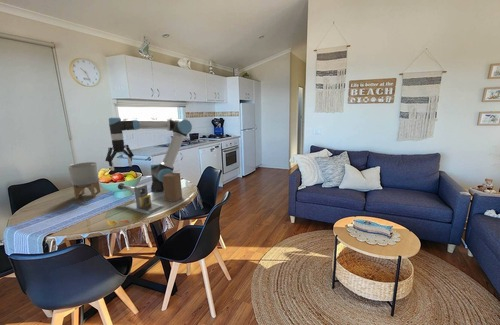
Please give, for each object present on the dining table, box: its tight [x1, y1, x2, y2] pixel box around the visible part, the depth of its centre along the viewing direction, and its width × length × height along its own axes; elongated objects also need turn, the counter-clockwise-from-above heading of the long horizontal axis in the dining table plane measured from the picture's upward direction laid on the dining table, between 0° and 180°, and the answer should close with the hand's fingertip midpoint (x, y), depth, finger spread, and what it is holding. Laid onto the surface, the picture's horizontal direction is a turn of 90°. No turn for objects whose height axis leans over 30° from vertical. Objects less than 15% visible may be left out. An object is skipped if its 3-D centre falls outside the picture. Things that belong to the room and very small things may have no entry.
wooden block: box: [162, 172, 183, 202], centre depth 185 cm, size 10×10×20 cm
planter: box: [67, 161, 101, 200], centre depth 197 cm, size 19×19×26 cm
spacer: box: [139, 193, 152, 208], centre depth 171 cm, size 2×8×8 cm, turn 150°
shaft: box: [117, 182, 143, 193], centre depth 176 cm, size 24×5×5 cm, turn 60°
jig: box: [125, 183, 165, 215], centre depth 171 cm, size 24×14×16 cm, turn 60°
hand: (121, 168), depth 177 cm, fingers open, 13 cm apart
